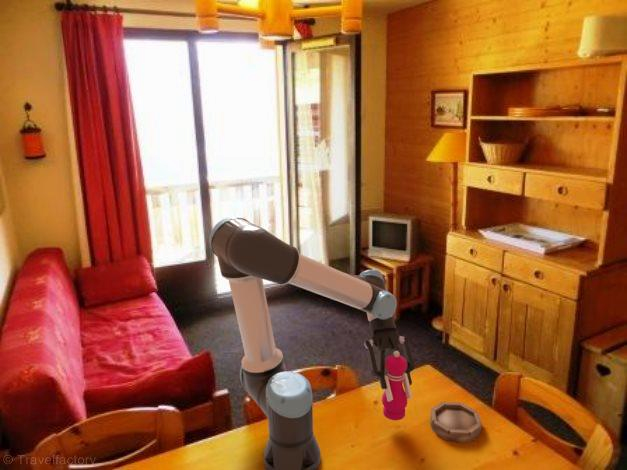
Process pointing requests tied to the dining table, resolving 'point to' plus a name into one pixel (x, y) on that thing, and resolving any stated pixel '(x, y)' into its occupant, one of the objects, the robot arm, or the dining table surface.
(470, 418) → the bowl
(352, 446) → the dining table surface
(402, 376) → the pepper mill
